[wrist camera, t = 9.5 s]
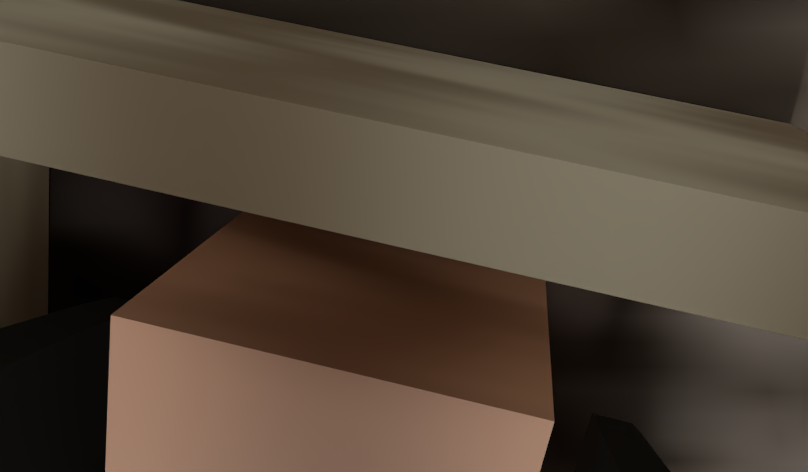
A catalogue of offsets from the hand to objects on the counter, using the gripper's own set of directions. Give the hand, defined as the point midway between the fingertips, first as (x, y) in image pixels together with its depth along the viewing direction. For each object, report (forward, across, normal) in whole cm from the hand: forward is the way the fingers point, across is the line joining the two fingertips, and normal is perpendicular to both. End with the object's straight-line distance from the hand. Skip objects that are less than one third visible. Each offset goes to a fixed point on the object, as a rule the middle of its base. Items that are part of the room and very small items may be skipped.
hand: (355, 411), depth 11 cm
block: (+2, 0, 0) cm, 2 cm away
